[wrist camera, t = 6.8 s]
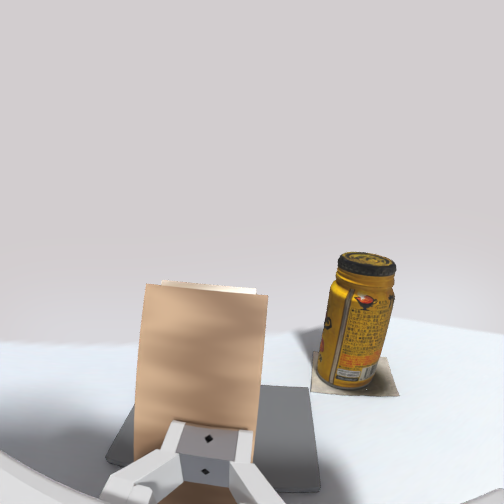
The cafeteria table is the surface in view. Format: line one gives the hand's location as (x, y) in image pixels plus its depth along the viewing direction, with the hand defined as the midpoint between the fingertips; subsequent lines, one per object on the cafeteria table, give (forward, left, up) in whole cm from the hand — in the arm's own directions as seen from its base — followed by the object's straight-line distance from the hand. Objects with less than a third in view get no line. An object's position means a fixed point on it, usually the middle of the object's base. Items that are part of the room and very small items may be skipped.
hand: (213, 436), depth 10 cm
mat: (-1, +9, -9) cm, 12 cm away
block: (-1, -1, -8) cm, 8 cm away
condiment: (+11, +17, -9) cm, 22 cm away
